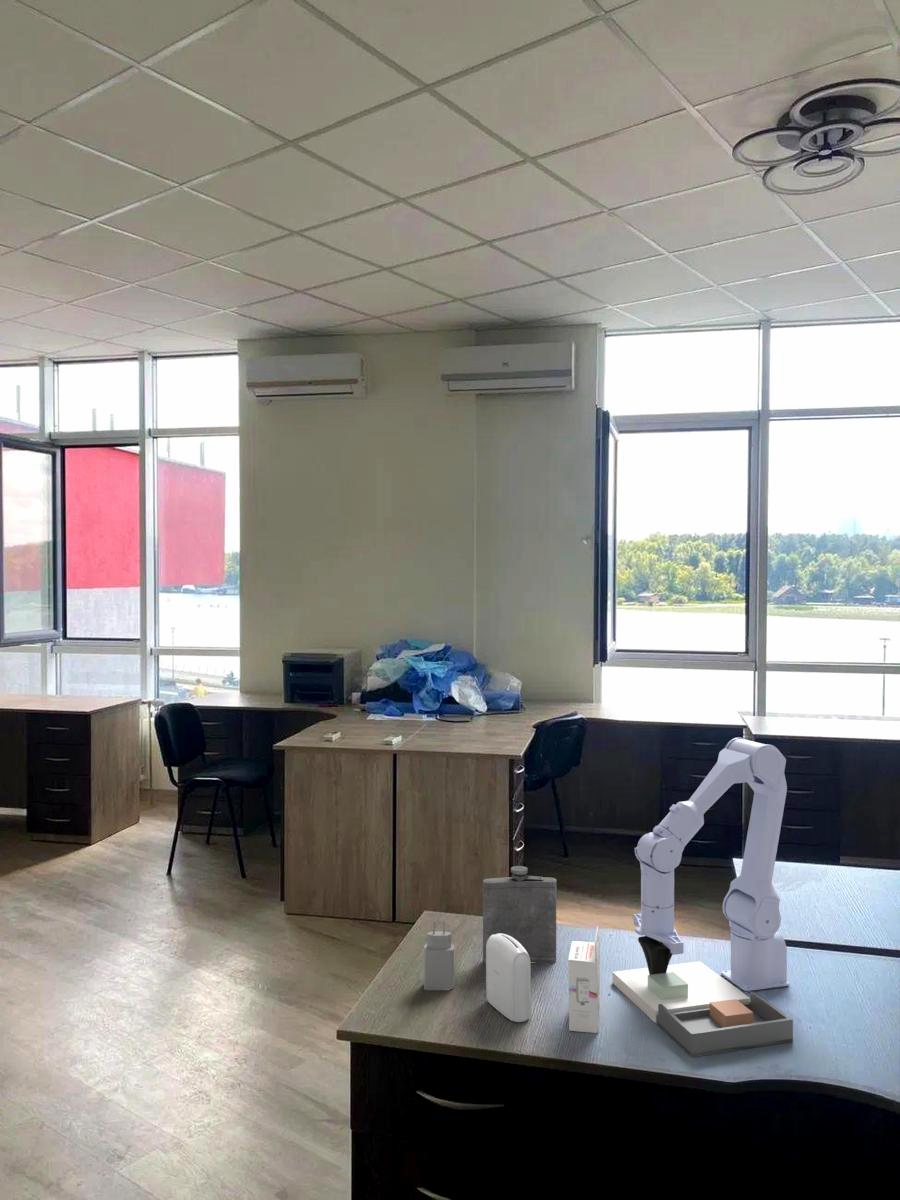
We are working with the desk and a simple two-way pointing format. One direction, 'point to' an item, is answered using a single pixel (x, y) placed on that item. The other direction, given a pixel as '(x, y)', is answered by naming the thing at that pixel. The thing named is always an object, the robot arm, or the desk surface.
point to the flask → (522, 912)
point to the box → (726, 1029)
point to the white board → (700, 994)
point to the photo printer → (508, 977)
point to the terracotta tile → (730, 1013)
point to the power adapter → (438, 960)
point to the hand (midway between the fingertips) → (657, 979)
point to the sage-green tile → (667, 986)
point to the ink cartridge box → (584, 985)
